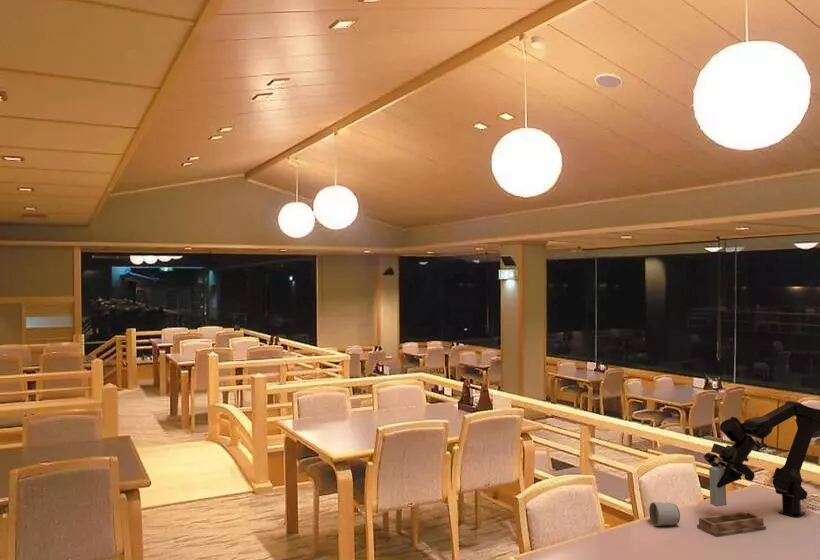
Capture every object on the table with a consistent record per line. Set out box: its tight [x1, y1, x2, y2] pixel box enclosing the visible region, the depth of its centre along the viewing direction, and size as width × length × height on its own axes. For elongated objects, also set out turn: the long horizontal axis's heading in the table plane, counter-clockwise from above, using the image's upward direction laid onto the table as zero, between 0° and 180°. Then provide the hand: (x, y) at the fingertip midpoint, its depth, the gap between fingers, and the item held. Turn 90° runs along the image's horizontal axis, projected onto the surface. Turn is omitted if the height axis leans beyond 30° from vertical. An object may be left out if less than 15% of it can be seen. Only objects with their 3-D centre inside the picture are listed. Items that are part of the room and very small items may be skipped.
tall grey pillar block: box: [708, 466, 727, 508], centre depth 224 cm, size 4×3×12 cm
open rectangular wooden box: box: [696, 510, 767, 538], centre depth 219 cm, size 20×9×4 cm, turn 106°
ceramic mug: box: [648, 501, 681, 527], centre depth 226 cm, size 11×8×8 cm
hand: (714, 485), depth 223 cm, fingers closed on tall grey pillar block, 3 cm apart
